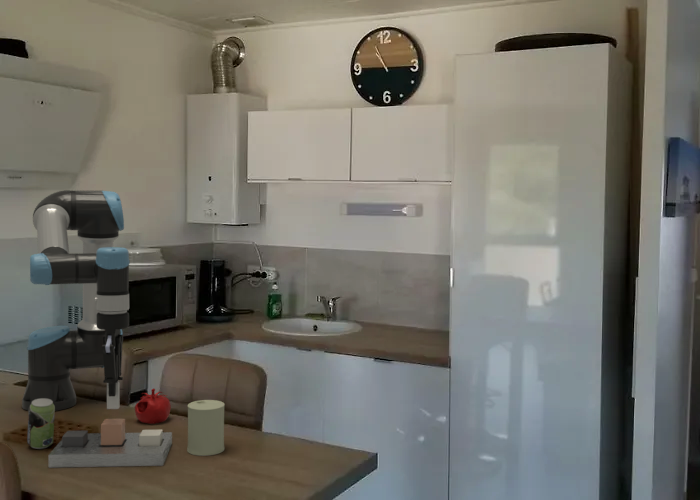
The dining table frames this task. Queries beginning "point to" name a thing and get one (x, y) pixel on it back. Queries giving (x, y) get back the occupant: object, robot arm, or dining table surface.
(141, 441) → the cream key
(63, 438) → the charcoal key
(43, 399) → the beverage can
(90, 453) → the key panel
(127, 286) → the robot arm
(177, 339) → the dining table surface
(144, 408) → the pomegranate
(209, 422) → the can
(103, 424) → the terracotta key
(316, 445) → the dining table surface
